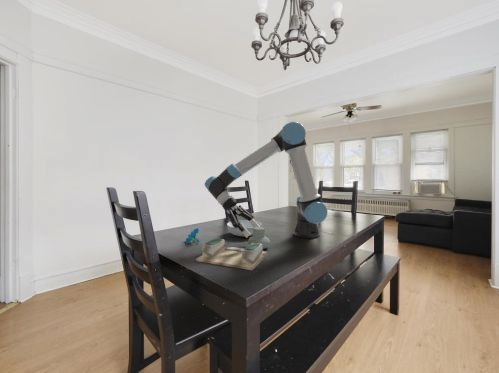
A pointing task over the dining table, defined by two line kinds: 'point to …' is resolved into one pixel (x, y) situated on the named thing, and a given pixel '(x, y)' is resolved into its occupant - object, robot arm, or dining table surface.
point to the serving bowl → (246, 224)
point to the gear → (192, 236)
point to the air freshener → (259, 237)
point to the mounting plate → (232, 254)
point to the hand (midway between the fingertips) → (254, 232)
